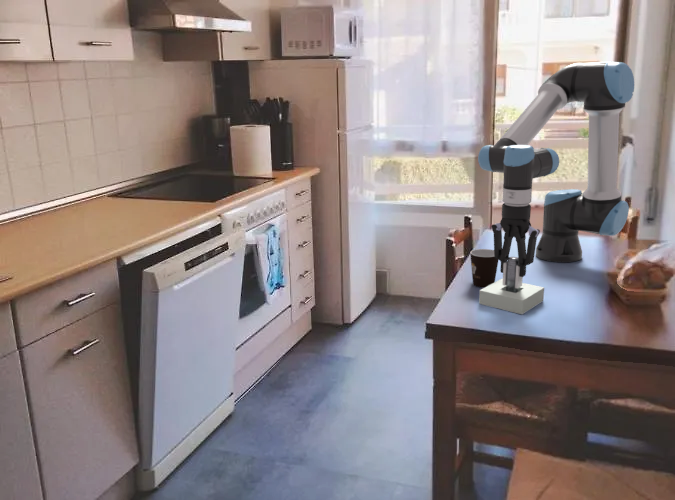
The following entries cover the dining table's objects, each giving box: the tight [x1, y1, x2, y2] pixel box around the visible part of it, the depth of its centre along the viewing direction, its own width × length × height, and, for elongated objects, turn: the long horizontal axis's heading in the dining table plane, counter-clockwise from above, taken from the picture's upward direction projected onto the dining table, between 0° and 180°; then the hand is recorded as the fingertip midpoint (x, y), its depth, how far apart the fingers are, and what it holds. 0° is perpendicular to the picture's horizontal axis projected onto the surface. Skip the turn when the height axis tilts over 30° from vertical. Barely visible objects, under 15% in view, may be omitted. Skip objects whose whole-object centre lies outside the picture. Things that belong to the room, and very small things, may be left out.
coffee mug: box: [469, 248, 499, 289], centre depth 193 cm, size 12×9×10 cm
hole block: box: [478, 278, 545, 315], centre depth 177 cm, size 13×13×4 cm
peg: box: [506, 256, 519, 293], centre depth 176 cm, size 3×3×12 cm
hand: (512, 285), depth 176 cm, fingers closed on peg, 3 cm apart
